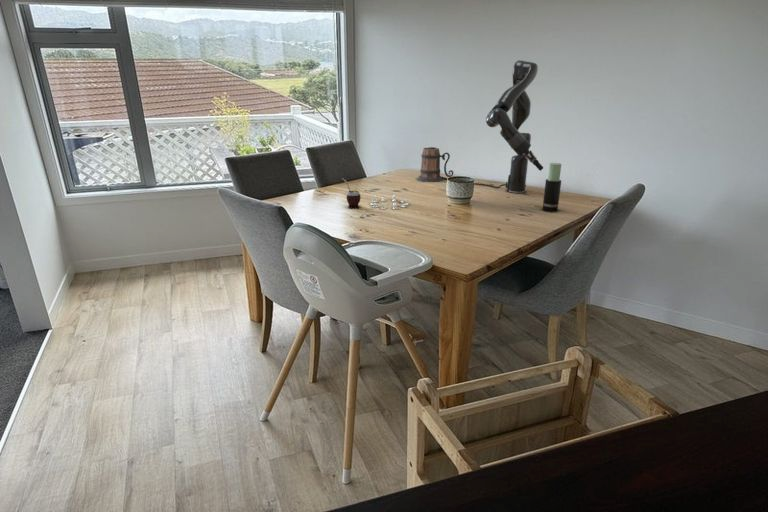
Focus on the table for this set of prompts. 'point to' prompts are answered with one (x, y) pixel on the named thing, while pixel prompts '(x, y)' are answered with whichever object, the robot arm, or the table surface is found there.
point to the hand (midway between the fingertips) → (540, 167)
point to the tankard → (432, 165)
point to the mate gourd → (352, 197)
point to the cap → (554, 172)
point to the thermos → (551, 196)
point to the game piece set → (392, 200)
